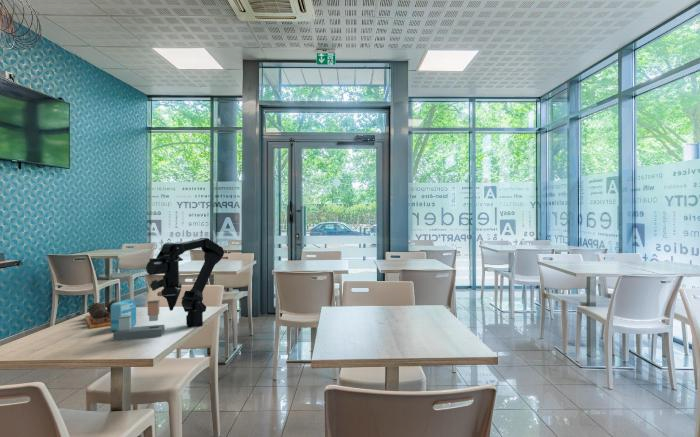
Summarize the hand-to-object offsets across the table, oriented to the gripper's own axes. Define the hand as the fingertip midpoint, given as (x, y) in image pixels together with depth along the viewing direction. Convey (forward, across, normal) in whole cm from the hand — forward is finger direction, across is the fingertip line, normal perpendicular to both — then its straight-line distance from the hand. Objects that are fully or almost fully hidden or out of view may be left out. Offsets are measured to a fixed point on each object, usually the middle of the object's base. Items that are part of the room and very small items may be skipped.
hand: (172, 308), depth 183 cm
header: (+10, +2, -13) cm, 16 cm away
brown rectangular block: (+5, +2, -7) cm, 9 cm away
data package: (+10, -16, -22) cm, 29 cm away
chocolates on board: (+11, -36, -34) cm, 50 cm away
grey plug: (+10, +2, -18) cm, 21 cm away
